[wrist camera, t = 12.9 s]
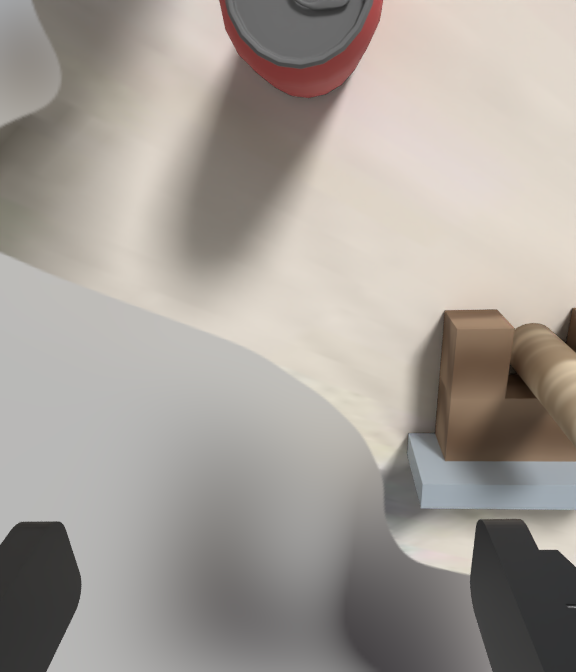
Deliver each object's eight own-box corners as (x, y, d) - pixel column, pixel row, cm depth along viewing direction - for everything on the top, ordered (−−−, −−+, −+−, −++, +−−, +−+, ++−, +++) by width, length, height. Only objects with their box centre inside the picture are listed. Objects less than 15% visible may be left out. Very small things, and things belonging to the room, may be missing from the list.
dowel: (506, 323, 35) (592, 416, 24) (559, 322, 35) (669, 415, 24) (501, 369, 36) (579, 476, 25) (551, 368, 36) (652, 476, 25)
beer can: (344, 112, 30) (356, 105, 19) (239, 80, 30) (190, 54, 19) (381, -13, 28) (420, -104, 17) (267, -50, 28) (230, -167, 17)
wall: (408, 433, 39) (422, 484, 33) (625, 433, 38) (678, 486, 32) (407, 454, 40) (420, 508, 34) (620, 455, 38) (670, 510, 33)
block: (444, 310, 35) (457, 329, 32) (626, 307, 34) (658, 326, 31) (434, 433, 39) (445, 461, 35) (598, 433, 38) (623, 461, 35)
